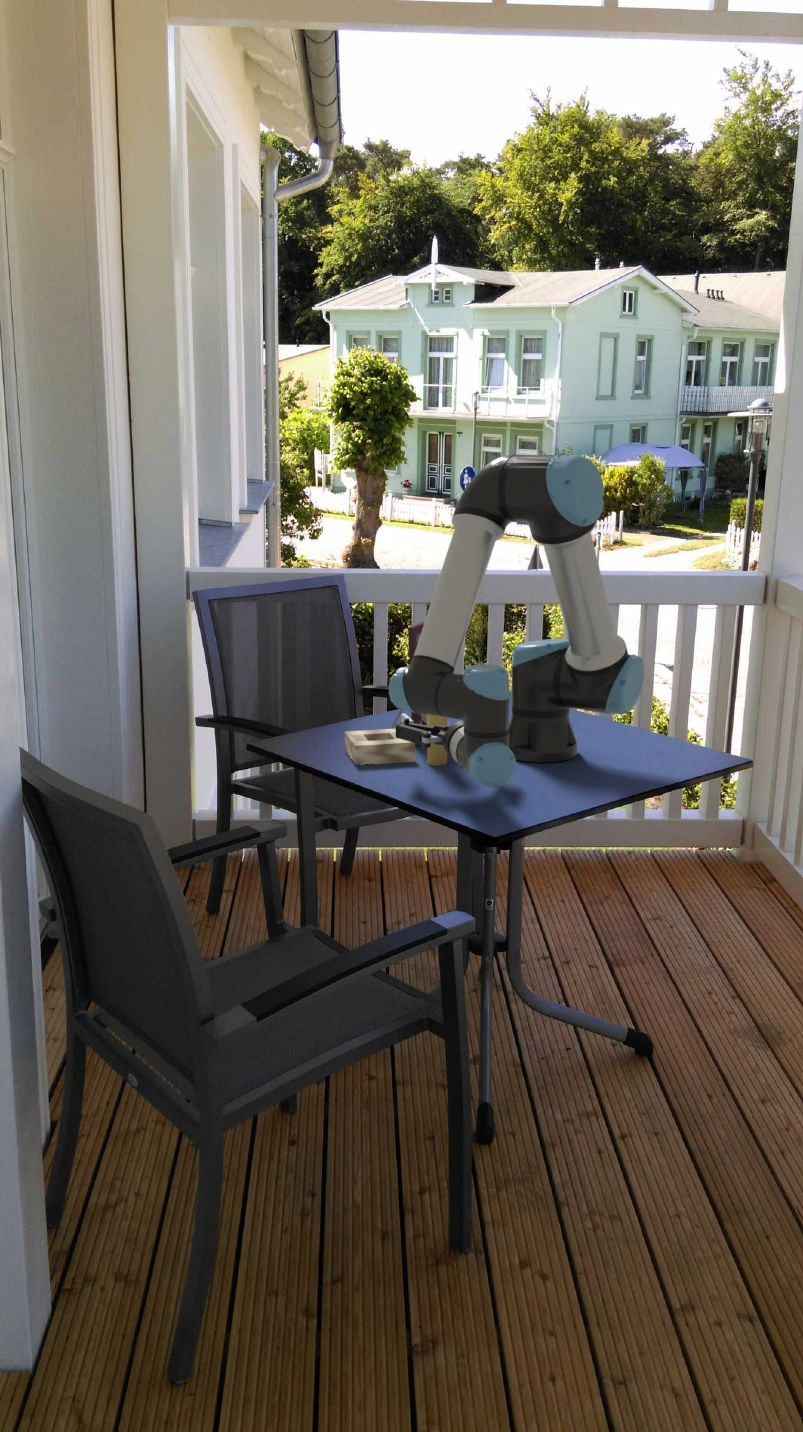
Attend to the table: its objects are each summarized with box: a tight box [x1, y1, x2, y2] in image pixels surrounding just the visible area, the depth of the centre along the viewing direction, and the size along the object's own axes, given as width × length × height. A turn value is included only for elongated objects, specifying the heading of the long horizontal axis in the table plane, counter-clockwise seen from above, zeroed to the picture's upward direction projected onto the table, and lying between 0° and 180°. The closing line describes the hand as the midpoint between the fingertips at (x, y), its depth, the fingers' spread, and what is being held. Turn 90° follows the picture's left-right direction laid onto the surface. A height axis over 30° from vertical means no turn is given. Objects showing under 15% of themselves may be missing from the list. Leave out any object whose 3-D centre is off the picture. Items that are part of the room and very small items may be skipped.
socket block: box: [344, 728, 416, 766], centre depth 234 cm, size 12×12×4 cm
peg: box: [426, 714, 448, 767], centre depth 227 cm, size 4×4×18 cm
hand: (437, 718), depth 224 cm, fingers open, 13 cm apart
